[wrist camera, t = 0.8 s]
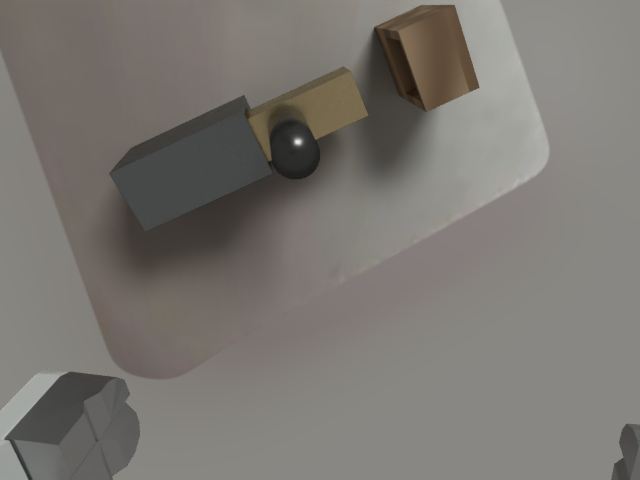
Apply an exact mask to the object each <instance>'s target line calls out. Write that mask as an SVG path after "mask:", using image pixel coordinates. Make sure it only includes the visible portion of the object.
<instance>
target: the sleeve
mask: <svg viewBox="0 0 640 480" xmlns="http://www.w3.org/2000/svg"><path fill="white" fill-rule="evenodd" d="M249 110H251V109H250V106H249V104H248V102H247V100H246V98H245V96H244V95H243V96H241V97H239V98H237V99H235V100H233V101H230V102H228V103H226V104H224V105H222V106H220V107H218V108H216V109H213V110H211V111H209V112H207V113H205V114H203V115H201V116H198V117H196V118H194V119H192V120H190V121H188V122H186V123H184V124H181V125H179V126H177V127H175V128H173V129H171V130H169V131H167V132H164V133H162V134H160V135H158V136H156V137H154V138H152V139H149V140H147V141H145V142H143V143H141V144H139V145H137V146H135V147H132V148H131V149H130V150H129V151H128V152H127V153H126V154H125V156H124V157H123V158H122V159H121V160H120V161H119V163H118V164H117V165H116V166H115V167H114V168H113V169H112V171H111V172H110V173H109V174H110V176H111V178H112V179H113V181H114V182H115V184H116V186H117V187H118V189H119V190H120V192H121V194H122V195H123V197H124V198H125V200H126V202H127V203H128V205H129V206H130V208H131V210H132V211H133V213H134V214H135V216H136V218H137V219H138V221H139V222H140V224H141V226H142V227H143V229H144V230H145V232H146V231H148V230H150V229H153V228H155V227H157V226H159V225H161V224H164V223H166V222H168V221H170V220H172V219H174V218H177V217H179V216H181V215H183V214H185V213H188V212H190V211H192V210H194V209H196V208H199V207H201V206H203V205H205V204H207V203H209V202H212V201H214V200H216V199H218V198H220V197H223V196H225V195H227V194H229V193H231V192H233V191H236V190H238V189H240V188H242V187H244V186H247V185H249V184H251V183H253V182H255V181H258V180H260V179H262V178H264V177H266V176H268V175H271V174H273V170H272V162H271V161H267V159H266V157H265V155H264V153H263V151H262V149H261V147H260V145H259V143H258V141H257V139H256V137H255V135H254V133H253V131H252V129H251V127H250V125H249V123H248V121H247V119H246V117H245V112H247V111H249Z"/></svg>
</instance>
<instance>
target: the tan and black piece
mask: <svg viewBox="0 0 640 480" xmlns="http://www.w3.org/2000/svg"><path fill="white" fill-rule="evenodd" d="M366 116H368V113H367V111H366V108H365V106H364V103H363V101H362V98H361V96H360V93H359V90H358V88H357V85H356V83H355V80H354V78H353V75H352V73H351V71H350V70H348V69H347V68H345V67H344V66H343V67H341V68H339V69H337V70H335V71H332V72H330V73H328V74H326V75H324V76H322V77H320V78H317V79H315V80H313V81H311V82H309V83H307V84H305V85H302V86H300V87H298V88H296V89H294V90H292V91H290V92H287V93H285V94H283V95H281V96H279V97H277V98H275V99H272V100H270V101H268V102H266V103H264V104H262V105H260V106H257V107H255V108H253V109H251V110H249V111H247V112H245V117H246V119H247V121H248V123H249V125H250V127H251V129H252V131H253V133H254V135H255V137H256V139H257V141H258V143H259V145H260V147H261V149H262V151H263V153H264V155H265V157H266V159H267V161H271V160H272V163H273V166H274V167H275V169H276V170H277V172H278V173H279V174H281V175H282V176H284V177H286V178H289V179H302V178H305V177H307V176H309V175H310V174H311V173H312V172H313V171H314V170H315V169H316V167H317V166H318V163H319V160H320V151H319V147H318V145H317V142H316V139H318V138H321V137H323V136H325V135H327V134H329V133H331V132H334V131H336V130H338V129H340V128H342V127H345V126H347V125H349V124H351V123H353V122H355V121H358V120H360V119H362V118H364V117H366Z"/></svg>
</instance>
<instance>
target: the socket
mask: <svg viewBox="0 0 640 480" xmlns="http://www.w3.org/2000/svg"><path fill="white" fill-rule="evenodd" d="M374 28H375V30H376V33H377V36H378V38H379V41H380V44H381V47H382V49H383V52H384V55H385V58H386V60H387V63H388V66H389V69H390V71H391V74H392V77H393V79H394V82H395V85H396V88H397V90H398V93H399V95H400V96H401V97H403V98H405V99H406V100H408V101H409V102H411V103H413V104H414V105H416V106H418V107H419V108H421V109H423V110H424V111H426V112H427V111H429V110H432V109H434V108H436V107H438V106H440V105H443V104H445V103H447V102H449V101H451V100H453V99H456V98H458V97H460V96H462V95H464V94H467V93H469V92H471V91H473V90H475V89H478V88H479V84H478V81H477V78H476V74H475V71H474V68H473V64H472V61H471V58H470V55H469V51H468V48H467V45H466V41H465V38H464V35H463V31H462V28H461V25H460V22H459V18H458V15H457V12H456V8H455V5H421V6H419V7H416V8H414V9H412V10H410V11H408V12H406V13H404V14H402V15H399V16H397V17H395V18H393V19H391V20H389V21H387V22H385V23H382V24H380V25H378V26H376V27H374Z"/></svg>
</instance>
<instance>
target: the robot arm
mask: <svg viewBox="0 0 640 480" xmlns="http://www.w3.org/2000/svg"><path fill="white" fill-rule="evenodd" d="M129 395H130V393H129V390H128V388H127V385H126V383H125V380H123V379H120V378H117V377H110V376H101V375H93V374H85V373H76V372H64V371H55V370H44V371H42V372H39V373H37V374H36V375H35V376H34V377H33V378H32V379H31V380H30V381H29V382H28V383H27V384H26V385H25V386H24V387H23V388H22V389H21V391H19V392H18V393H17V394H16V395H15V396H14V397H13V398H12V400H10V402H9V403H8V404H7V405H6V406H5V407H4V408H3V409H2V410H1V411H0V480H113V479H112V476H113V475H114V474H116V473H117V472H119V471H120V470H122V469H123V468H125V467H126V466H127V465H128V463H129V462H130V460H131V458H132V457H133V455H134V453H135V451H136V447H137V444H138V440H139V436H140V428H139V420H138V417H137V414H136V412H135V411H134V410H133V409H132V408H131V407H130V406H129V405H127V403H126V400H127V398H128V397H129ZM619 443H620V447H621V450H622V454H623V457H624V458H622V459H621V460H619V461H618V462H617V463H615V464H614V468H613V474H612V479H611V480H640V425H637V424H626V425H625V427H624V428H623V429H622V432H621V437H620V441H619Z"/></svg>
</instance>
